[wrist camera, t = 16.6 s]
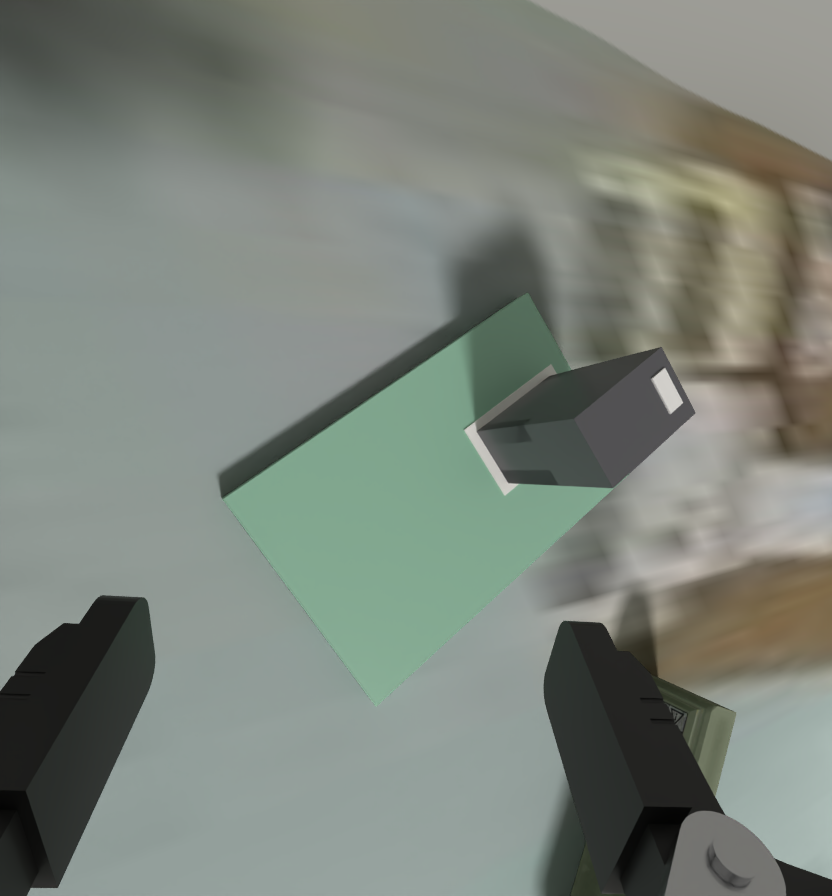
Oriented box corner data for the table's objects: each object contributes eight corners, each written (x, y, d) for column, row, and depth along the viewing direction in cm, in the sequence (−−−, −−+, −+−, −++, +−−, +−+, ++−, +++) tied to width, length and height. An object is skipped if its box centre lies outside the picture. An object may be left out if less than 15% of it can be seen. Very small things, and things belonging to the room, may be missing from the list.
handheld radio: (662, 678, 40) (553, 1066, 35) (628, 665, 39) (510, 1063, 34) (746, 716, 33) (626, 1195, 29) (708, 702, 32) (578, 1195, 28)
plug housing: (508, 483, 33) (614, 488, 25) (476, 431, 33) (575, 418, 24) (577, 425, 36) (697, 412, 27) (549, 375, 35) (663, 346, 26)
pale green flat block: (369, 698, 31) (401, 739, 26) (221, 498, 28) (227, 504, 24) (616, 473, 38) (676, 474, 34) (517, 297, 36) (567, 271, 31)
